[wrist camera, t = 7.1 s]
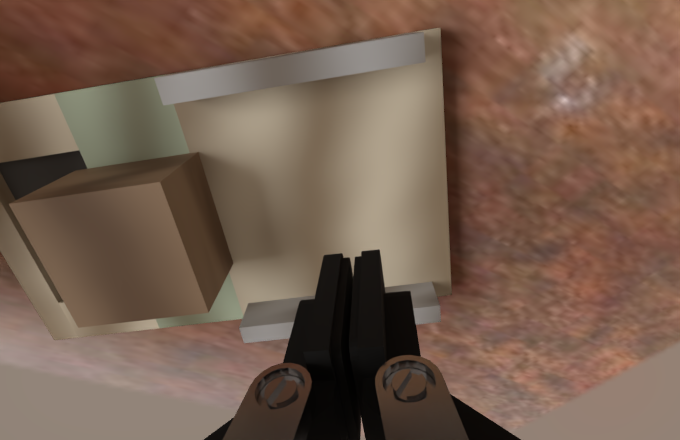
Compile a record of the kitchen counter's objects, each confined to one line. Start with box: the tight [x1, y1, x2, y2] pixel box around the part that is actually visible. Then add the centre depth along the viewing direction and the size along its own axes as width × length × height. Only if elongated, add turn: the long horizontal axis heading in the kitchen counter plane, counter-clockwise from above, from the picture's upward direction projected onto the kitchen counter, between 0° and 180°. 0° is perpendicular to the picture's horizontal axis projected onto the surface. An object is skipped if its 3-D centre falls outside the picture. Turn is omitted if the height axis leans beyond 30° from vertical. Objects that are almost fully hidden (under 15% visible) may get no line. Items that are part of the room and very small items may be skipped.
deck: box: [0, 28, 452, 343], centre depth 19 cm, size 23×13×3 cm, turn 99°
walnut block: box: [9, 152, 233, 328], centre depth 18 cm, size 6×6×4 cm
